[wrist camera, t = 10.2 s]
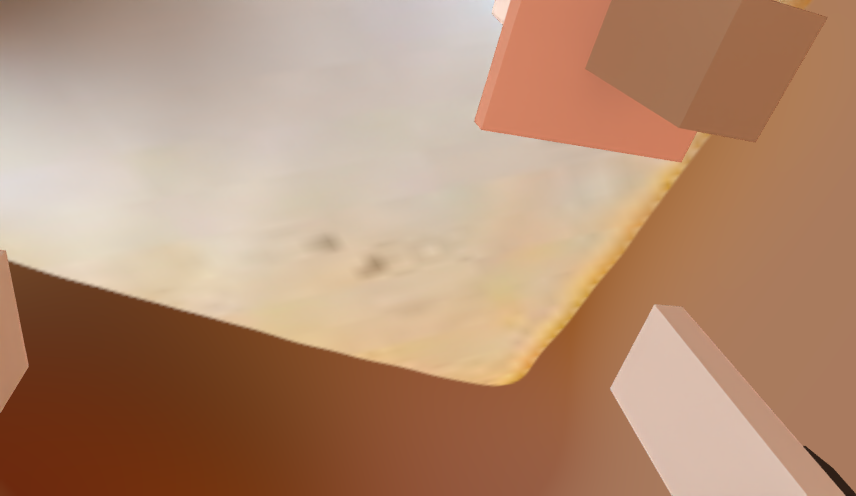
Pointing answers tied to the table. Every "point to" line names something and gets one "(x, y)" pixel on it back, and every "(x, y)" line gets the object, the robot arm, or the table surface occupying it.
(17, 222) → the table surface
